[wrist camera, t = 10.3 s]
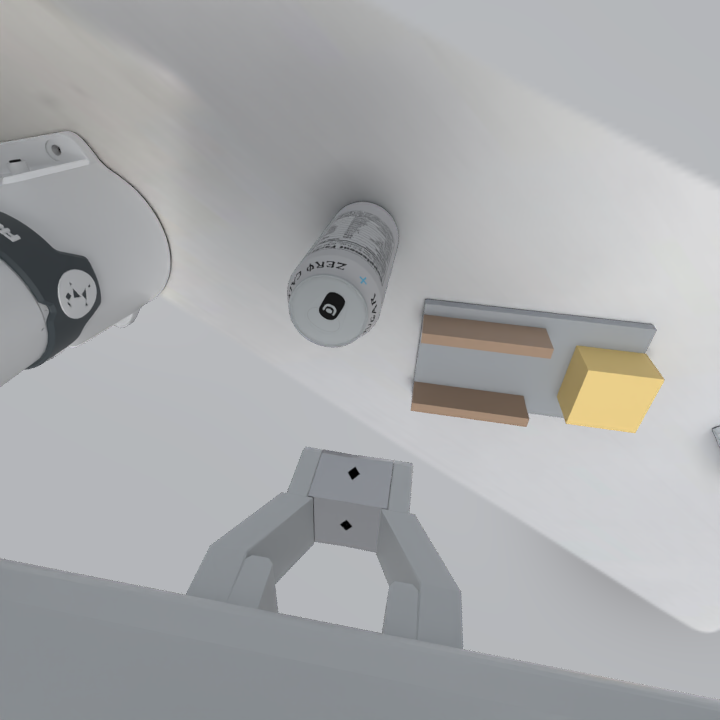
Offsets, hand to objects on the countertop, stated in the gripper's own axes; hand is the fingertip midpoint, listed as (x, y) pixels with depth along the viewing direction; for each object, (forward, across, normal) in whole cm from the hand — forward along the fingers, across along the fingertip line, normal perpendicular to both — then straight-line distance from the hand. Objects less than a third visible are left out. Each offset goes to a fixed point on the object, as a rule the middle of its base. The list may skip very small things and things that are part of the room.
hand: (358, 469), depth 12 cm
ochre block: (+28, -19, +14) cm, 37 cm away
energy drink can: (+29, +4, +3) cm, 30 cm away
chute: (+29, -12, +14) cm, 34 cm away
